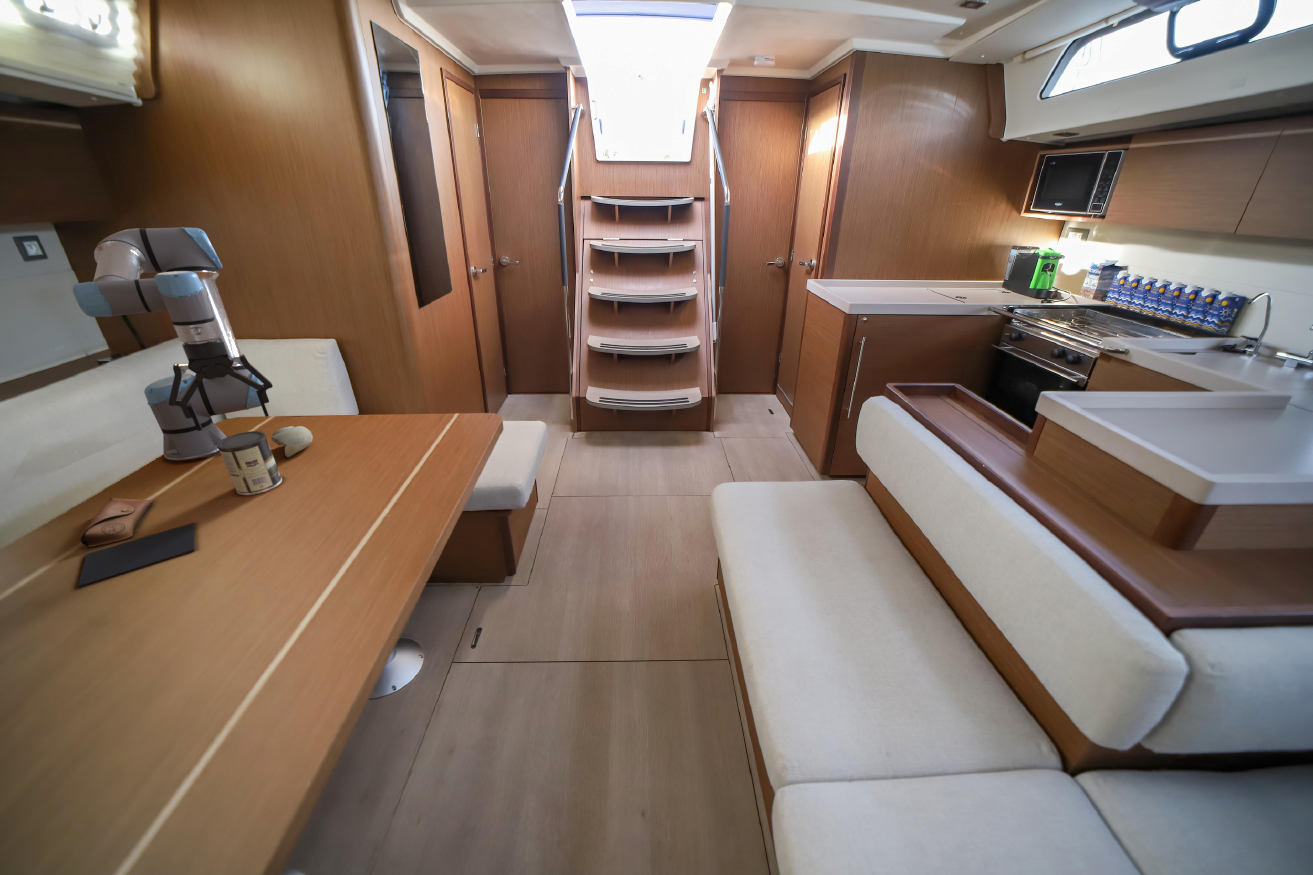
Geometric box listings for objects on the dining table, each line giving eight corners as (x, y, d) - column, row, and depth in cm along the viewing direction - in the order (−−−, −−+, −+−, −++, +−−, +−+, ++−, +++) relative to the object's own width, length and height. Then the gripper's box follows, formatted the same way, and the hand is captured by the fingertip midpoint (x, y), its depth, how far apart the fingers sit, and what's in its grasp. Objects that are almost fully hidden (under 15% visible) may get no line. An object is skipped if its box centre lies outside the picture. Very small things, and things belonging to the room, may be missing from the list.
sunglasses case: (134, 535, 115) (102, 519, 111) (106, 556, 114) (72, 540, 110) (155, 498, 129) (127, 482, 125) (130, 516, 128) (101, 501, 124)
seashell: (267, 424, 154) (304, 414, 158) (279, 445, 159) (315, 434, 163) (267, 443, 145) (306, 432, 149) (280, 465, 150) (318, 453, 154)
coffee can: (264, 473, 142) (247, 428, 136) (291, 479, 139) (274, 434, 133) (226, 491, 133) (206, 444, 127) (254, 498, 130) (234, 450, 124)
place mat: (87, 555, 110) (86, 554, 109) (193, 524, 120) (193, 522, 120) (78, 587, 101) (77, 586, 101) (194, 550, 111) (194, 549, 111)
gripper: (128, 353, 109) (169, 440, 118) (267, 334, 123) (294, 413, 132) (130, 345, 114) (169, 430, 123) (264, 329, 128) (290, 405, 138)
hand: (234, 421), depth 128 cm, fingers open, 13 cm apart
